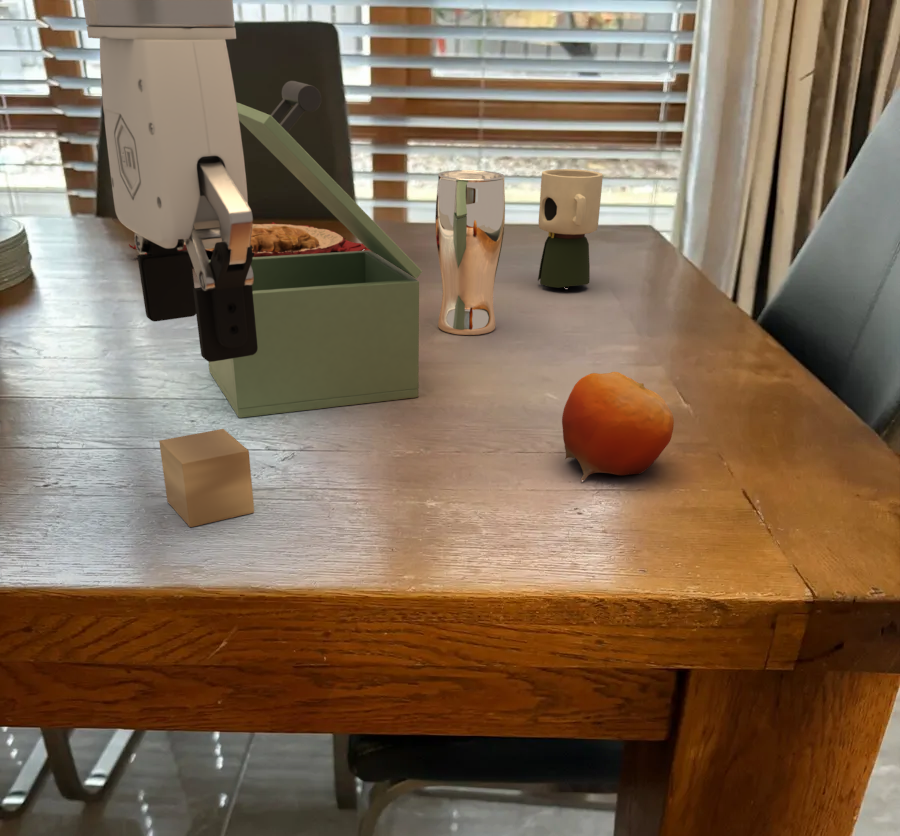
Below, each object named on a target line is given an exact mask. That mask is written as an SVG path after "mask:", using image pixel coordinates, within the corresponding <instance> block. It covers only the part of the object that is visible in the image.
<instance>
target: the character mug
mask: <svg viewBox="0 0 900 836" xmlns="http://www.w3.org/2000/svg"><path fill="white" fill-rule="evenodd" d="M603 176H604V175H603V173H602V172H599V171H595V170H589V169H578V168H558V169H557V168H556V169H555V168H554V169H547V170H543V171H542V172H541V177H540V178H541V180H540V193H539V194H540V195H539V209H538V210H539V211H538V228H539V229H540V230H542V231H544V232H548V235H547V238H546V240H545V241H544V245H543V250H542V253H541V260H540V264H539V269H538V276H537V281H539V284H540V285H543V286H546V287H550V288H564V287H565V288H568V287H569V288H570V287H576V286H586V285H589V284H590V277H591V276H590V274H591V273H590V269H591V267H590V244H589V240H588V238H587V237H586V235H588V234H591V233H594V232H597V231H598V229H599V221H600V220H599V219H600V210H601V209H600V208H601V199H602V189H603V179H604V177H603ZM569 288H568V289H569Z"/></svg>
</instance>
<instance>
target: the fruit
mask: <svg viewBox="0 0 900 836" xmlns="http://www.w3.org/2000/svg"><path fill="white" fill-rule="evenodd" d="M662 397H663V396H661V395H660V394H659V393H656V392H655V391H654V390H651V389H648V388H646V387H645V385H644V383H642V382H637V381H636V380H634V379H633V378H631V377H628V376H627V375H625V374H623V373H621V372H618V371H611V372H606V373H598V372H592V373H589V374H586V375H585V376H583V377H581V378H580V379H578V381H576V383H575V384H574V386H573V388H572V389H571V391H570V393H569V395H568V398H567V400H566V401H565V404H564V408H563V411H562V415H561V416H562V417H561V425H562V426H561V427H562V439H563V444H564V450H565V459H564V460H566V459H571V458H572V459H576V460H577V462H578V464H579V465H580V468H581V471H582V473H583V475H582V476H581V478H580V480H584V481H585V480H586V479H587V478H588V477H589V476H590V475H592V474H596V473H597V474H598V473H601V474H602V473H604V474H610V475H616V476H629V475H640V474H639V473H641V474H642V473H644V472H645V471H647V470H648V469H649V468H650V467H651V466H652V465H653V464H654V463H655V461H656V460H657V459H658V458H659V457H660V456H661V454H662V452H663V451H664V450H665V449H666V448H667V447H668V445H669V443H670V442H671V440H672V437H673V432H674V426H675V420H674V415H673V412H672V411H671V409H670V408H669V406H668V404H667V403H666V400H665V399H664V398H662Z"/></svg>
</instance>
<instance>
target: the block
mask: <svg viewBox="0 0 900 836" xmlns="http://www.w3.org/2000/svg"><path fill="white" fill-rule="evenodd" d="M158 443H159V451H160V457H161V465H162V473H163V480H164V485H165V486H164V487H165V493H166V502H167V503H168V504H169V506H170V507H171V508H172V509H173V510H174V511H175V512H176V514H178V516H179V517H180V518H181V519H182V520H183V521H184V523H186V524H187V526H188V527H189V528H194V527H199V526H202V525H206V524H210V523H216V522H219V521H224V520H227V519H233V518H237V517H241V516H245V515H246V516H247V515H250V514H254V513H255V506H254V504H255V503H254V494H253V481H252V471H251V470H252V469H251V459H250V450H249V449H248V448H247V447H246V446H244V445H243V444H242V443H241V442H240V441H239V440H238V439H236V438H235V437H234V436H232V434H231V433H229V431H227V430H226V429H225V428H219V429H213V430H209V431H203V432H198V433H193V434H187V435H181V436H177V437H172V438H171V437H170V438H165V439H160V440H159V441H158Z"/></svg>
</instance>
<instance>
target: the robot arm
mask: <svg viewBox="0 0 900 836" xmlns="http://www.w3.org/2000/svg"><path fill="white" fill-rule="evenodd" d="M82 6H83V13H84V19H85V24H86V31H87V37H88V39H99V70H100V85H101V86H100V87H101V99H102V109H103V117H104V118H103V119H104V120H103V121H104V127H105V138H106V147H107V156H108V164H109V172H110V181H111V182H110V183H111V191H112V197H113V205H114V206H113V207H114V211H115V215H116V217H117V219H118V221H119V222H120V223H121V224H122V225H123V226H124V227H126V228H127V229H128V230H130V231H132V232H133V233H134V238H133V239H134V246H136V249H137V250H136V249H135V250H136V252H137V253H138V254H137V255H136V256H137V263H138V270H139V277H140V283H141V289H142V290H141V291H142V296H143V303H144V310H145V315H146V318H147V319H148V320H150V321H152V322H161V321H169V320H177V319H183V318H190V317H194V316H196V324H197V332H198V339H199V348H200V355H201V357H202V358H203V359H204V360H206V361H207V362H208V361H209V362H214V361H220V360H226V359H232V358H238V357H244V356H250V355H254V354H255V353H256V352H257V350H258V346H257V335H256V324H255V313H254V302H253V291H252V285H253V282H254V275H253V270H252V267H251V263H252V259H253V256H254V252H253V253H252V249H253V247H252V245H250V244H251V235H252V226H253V224H254V217H253V212H252V209H251V207H250V205H249V203H248V202H249V199H248V198H249V197H248V196H249V195H248V185H247V175H246V166H245V165H246V164H245V155H244V147H243V141H242V132H241V125H240V121H239V117H238V110H237V104H236V102H237V98H236V92H235V91H236V90H235V85H234V79H233V73H232V68H231V62H230V57H229V50H228V47H227V41H226V40H236V39H237V30H236V27H235V26H236V23H235V21H236V20H235V11H234V9H235V8H234V0H82ZM184 242H185V245H186V247H187V250H183V251H178V250H181V249H183V247H184ZM211 248H214V250H213V252H212V254H211V258H210V259H209V257H208V253H207V251H205V249H211ZM145 253H147V254H145ZM209 260H211V261H210V262H209ZM193 270H194V271H193ZM194 272H195V275H196V278H197V281H198V284H199V287H195V280H194V279H195V278H194Z"/></svg>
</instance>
